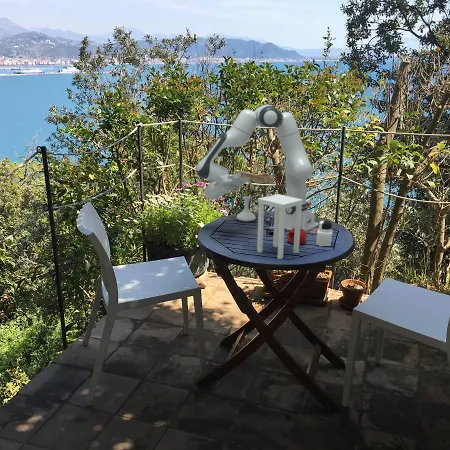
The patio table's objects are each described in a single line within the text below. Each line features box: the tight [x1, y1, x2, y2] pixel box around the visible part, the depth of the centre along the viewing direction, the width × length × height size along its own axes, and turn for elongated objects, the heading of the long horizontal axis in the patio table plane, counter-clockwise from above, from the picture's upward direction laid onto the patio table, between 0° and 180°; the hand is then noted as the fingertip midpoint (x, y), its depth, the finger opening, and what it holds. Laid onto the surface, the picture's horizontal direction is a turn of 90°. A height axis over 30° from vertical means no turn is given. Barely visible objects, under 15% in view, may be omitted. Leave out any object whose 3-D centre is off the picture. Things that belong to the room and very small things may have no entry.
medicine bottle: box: [315, 220, 333, 247], centre depth 225 cm, size 7×7×12 cm
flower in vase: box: [236, 180, 257, 222], centre depth 263 cm, size 13×11×25 cm
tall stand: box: [256, 193, 303, 260], centre depth 211 cm, size 14×15×26 cm
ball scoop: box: [235, 170, 274, 184], centre depth 217 cm, size 6×20×3 cm, turn 43°
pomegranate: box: [286, 227, 308, 245], centre depth 228 cm, size 10×10×9 cm
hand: (243, 173), depth 221 cm, fingers closed on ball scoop, 2 cm apart
